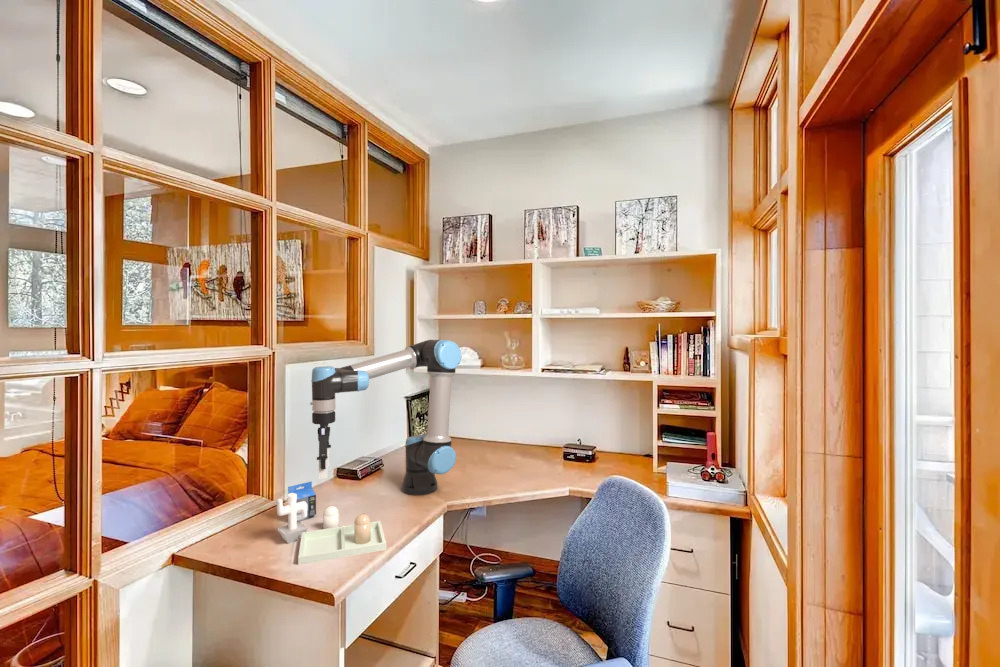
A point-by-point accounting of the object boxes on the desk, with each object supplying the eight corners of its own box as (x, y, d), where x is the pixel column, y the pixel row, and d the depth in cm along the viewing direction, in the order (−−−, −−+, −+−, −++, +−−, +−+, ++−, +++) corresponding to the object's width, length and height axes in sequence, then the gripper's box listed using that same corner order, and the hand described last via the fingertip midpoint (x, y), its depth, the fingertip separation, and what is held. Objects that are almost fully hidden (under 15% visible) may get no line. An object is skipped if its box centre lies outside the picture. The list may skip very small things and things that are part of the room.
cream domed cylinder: (338, 526, 161) (338, 502, 161) (339, 532, 157) (338, 507, 157) (323, 529, 160) (323, 504, 159) (323, 535, 155) (323, 510, 155)
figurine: (311, 538, 153) (310, 493, 153) (281, 547, 146) (281, 500, 146) (302, 531, 158) (302, 487, 158) (273, 540, 151) (273, 495, 151)
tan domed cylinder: (370, 536, 151) (369, 510, 151) (371, 542, 147) (370, 516, 147) (354, 538, 150) (353, 512, 150) (354, 545, 145) (354, 518, 145)
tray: (380, 529, 159) (380, 520, 159) (386, 552, 142) (386, 543, 142) (302, 541, 150) (301, 532, 150) (298, 568, 133) (298, 557, 133)
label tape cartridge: (291, 523, 164) (291, 489, 164) (287, 520, 167) (287, 487, 167) (316, 516, 170) (316, 483, 170) (312, 513, 173) (311, 481, 173)
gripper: (314, 406, 170) (315, 463, 170) (309, 418, 146) (310, 485, 146) (336, 405, 172) (336, 461, 172) (334, 416, 149) (335, 482, 149)
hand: (324, 472), depth 159 cm, fingers open, 13 cm apart
